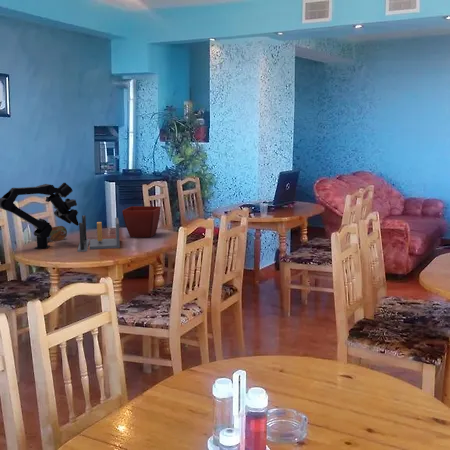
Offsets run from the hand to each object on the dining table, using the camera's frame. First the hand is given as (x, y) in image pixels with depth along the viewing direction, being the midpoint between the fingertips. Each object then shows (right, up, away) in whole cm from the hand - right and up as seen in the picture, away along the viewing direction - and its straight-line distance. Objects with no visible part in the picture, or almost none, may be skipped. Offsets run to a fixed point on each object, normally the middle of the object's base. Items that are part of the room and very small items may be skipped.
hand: (74, 224), depth 345 cm
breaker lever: (+16, -9, -5) cm, 19 cm away
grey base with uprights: (+18, -12, -4) cm, 22 cm away
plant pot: (+36, -7, +24) cm, 43 cm away
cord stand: (+7, -12, -6) cm, 15 cm away
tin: (-13, -10, +10) cm, 19 cm away
